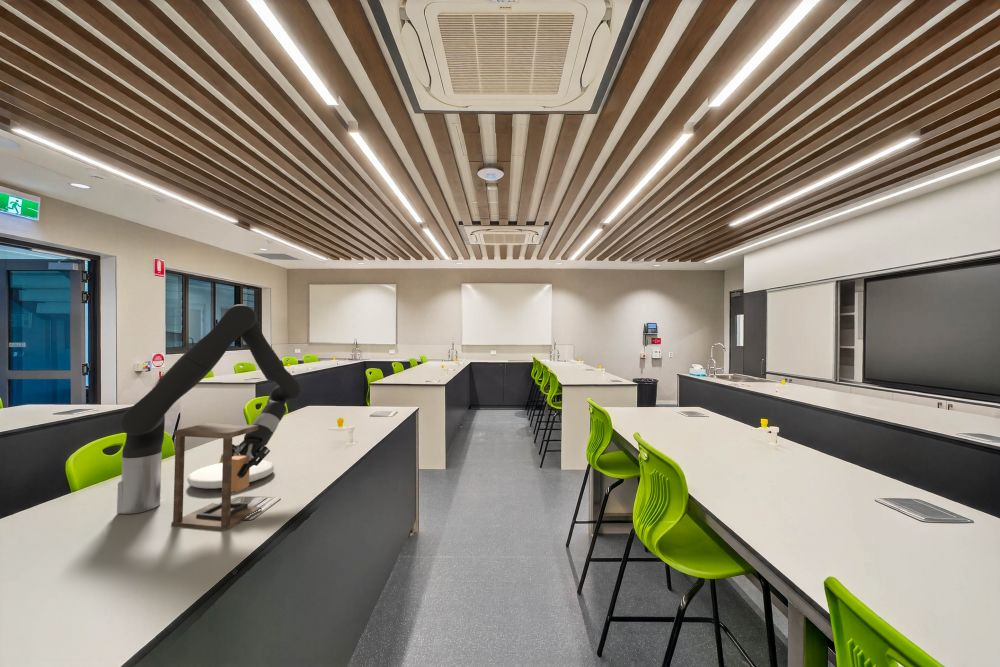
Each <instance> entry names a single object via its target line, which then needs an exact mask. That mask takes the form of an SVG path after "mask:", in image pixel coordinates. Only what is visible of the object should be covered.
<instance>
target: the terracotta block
mask: <svg viewBox="0 0 1000 667" xmlns="http://www.w3.org/2000/svg"><path fill="white" fill-rule="evenodd" d="M246 459H247V456H246V455H240V454H239V455H237V456H233V457H232V473H231V492H240V491H242V490H244V489H246V488H249V486H250V482H249V470H250V468H249V470H248V472H247V473H246V475H245V476H244V477H243V478H240V477H238V476H237V473H238V472H239V471H240V469H241V467H242V466H243V464H245V461H246Z"/></svg>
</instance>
